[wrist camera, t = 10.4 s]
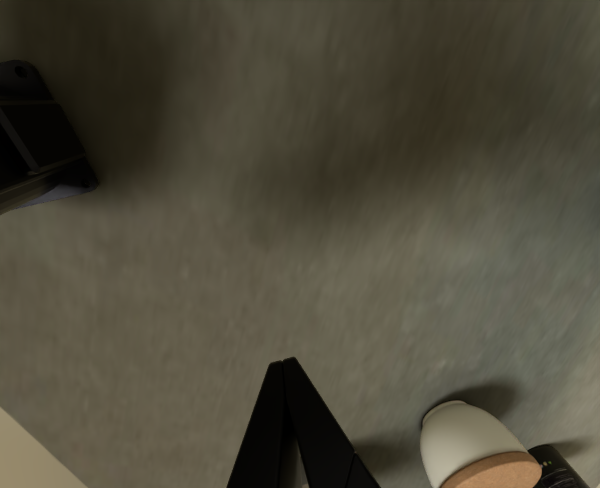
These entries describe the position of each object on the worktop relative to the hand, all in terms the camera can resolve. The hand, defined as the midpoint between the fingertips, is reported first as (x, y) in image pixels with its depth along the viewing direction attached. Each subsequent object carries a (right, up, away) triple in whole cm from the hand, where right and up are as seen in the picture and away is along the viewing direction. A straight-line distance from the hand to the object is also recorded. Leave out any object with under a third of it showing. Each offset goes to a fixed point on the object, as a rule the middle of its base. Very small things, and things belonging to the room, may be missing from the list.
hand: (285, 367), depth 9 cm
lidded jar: (+19, -17, +26) cm, 37 cm away
